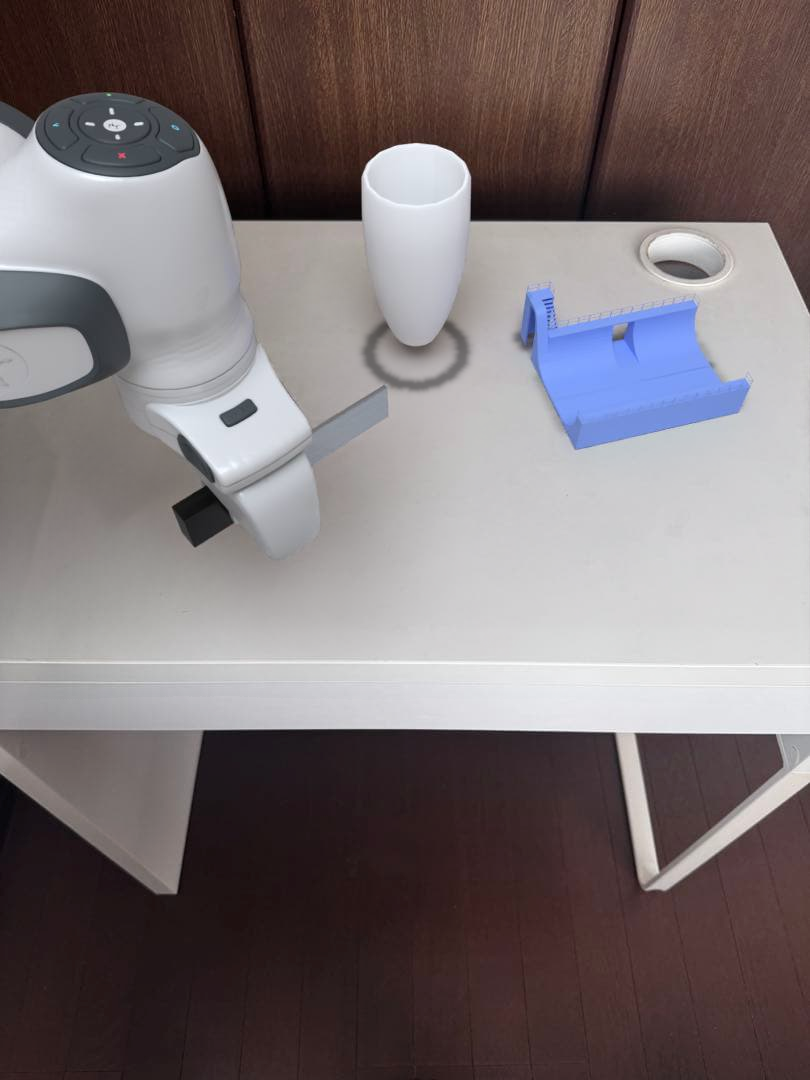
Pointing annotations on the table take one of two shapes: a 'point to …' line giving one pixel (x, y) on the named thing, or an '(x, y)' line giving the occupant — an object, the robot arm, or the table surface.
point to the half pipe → (626, 371)
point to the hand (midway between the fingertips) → (229, 500)
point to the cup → (416, 235)
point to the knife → (205, 510)
